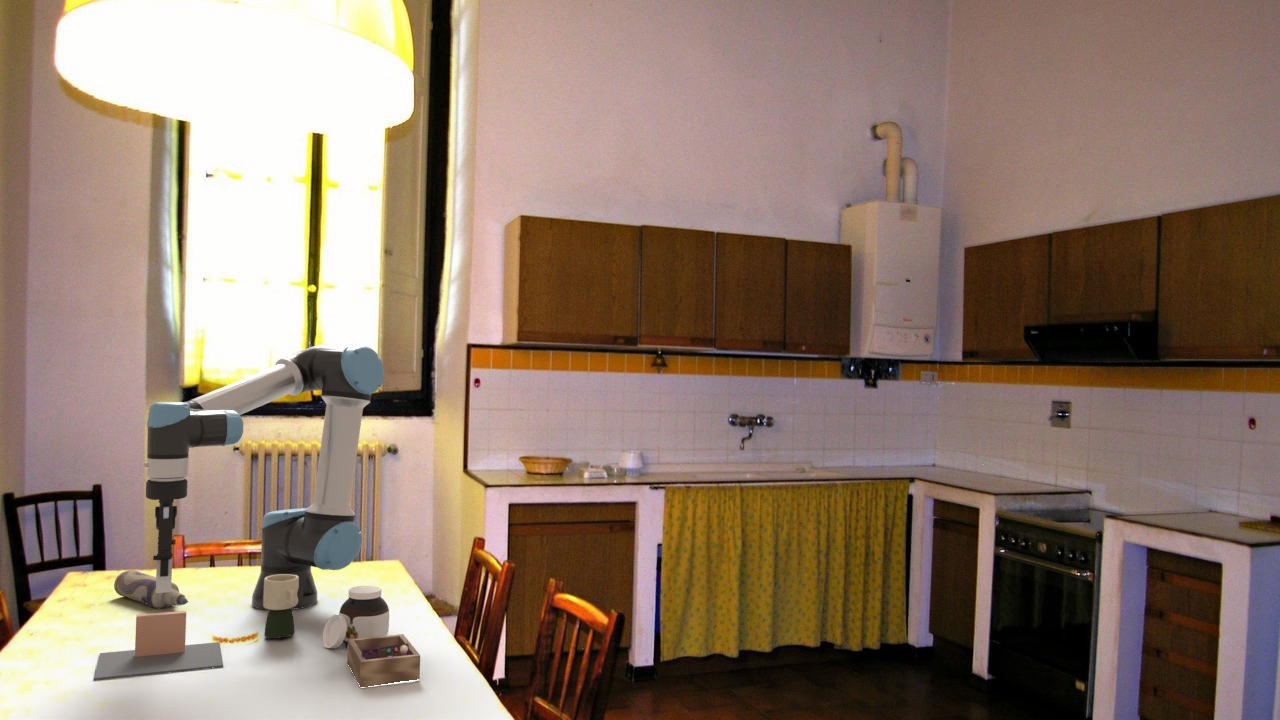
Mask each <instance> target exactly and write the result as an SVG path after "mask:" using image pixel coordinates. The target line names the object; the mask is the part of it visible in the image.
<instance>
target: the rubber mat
mask: <svg viewBox="0 0 1280 720" xmlns="http://www.w3.org/2000/svg"><path fill="white" fill-rule="evenodd" d="M98 655H99V656H98V658H97V665H96V668H95V673H94V677H93V681H101V680H111V679H118V678H119V679H123V678H132V677H142V676H149V675H150V676H151V675H160V673H161V674H169V672H171V673H179V671H181V672H186V671H187V672H188V670H190V671H196V670H195V669H200V670H205V669H204V668H210V669H213V668H212V667H219V668H224V661H223V655H222V649H221V642H220V641H217V642H206V643H195V644H194V643H193V644H185V652H181V653H170V654H160V655H149V656H139V657H135V649H129V650H121V651H120V650H119V651H107V652H100V653H99V654H98ZM202 668H203V669H202Z"/></svg>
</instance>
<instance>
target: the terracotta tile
mask: <svg viewBox="0 0 1280 720" xmlns="http://www.w3.org/2000/svg"><path fill="white" fill-rule="evenodd" d="M135 618H136V619H135V640H134V641H135V642H134V650H135V657H139V656H149V655H160V654H170V653H181V652H185V645H186V635H187V633H186V631H187V610H181V611H180V610H178V611H165V612H152V613H141V614H140V613H139V614H136V616H135Z"/></svg>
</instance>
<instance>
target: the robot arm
mask: <svg viewBox="0 0 1280 720" xmlns="http://www.w3.org/2000/svg"><path fill="white" fill-rule="evenodd" d="M384 377H385V368H384V364H383V361H382V359H381V358H380V357H379V354H378V353H377V351H375V350H374V349H372V347H369V346H366V345H359V344H329V343H327V344H325V343H324V344H318V345H314V346H310V347H308V348H305V349H302V350H300V351H297V352H295V353H292V354H290V355H287V356H285V357H282V358H280V359H278V360H277V361H276V362H275V363H274V365H273V366H271V367H269V368H266V369H263V370H261V371H259V372H257V373H254V374H251V375H249V376H247V377H244V378H242V379H240V380H237V381H234V382H232V383H230V384H227V385H225V386H222V387H219V388H218V389H217V388H216V389H215V390H212V391H210V392H207V393H205V394H203V395H200V396H197V397H195V398H192V399H190V400H188V401H184V402H183V401H179V402H178V401H158V402H157V401H156V402H153V403H151V405H150V406H149V408H148V409H149V410H148V414H147V415H148V416H147V420H146V421H147V423H146V425H147V448H146V449H147V451H146V454H147V455H146V458H147V459H146V460H147V461H145V462H143V464H142V466H143V468H146V477H147V478H149V479H147V481H145V497H146V499H148V500H153V501H158V503H159V505H158V506H155V508H154V518H156V519H155V529H156V530H157V531H158V534H157V535H158V537H157V540H158V541H157V553H156V555H153V556H152V557H153V559H152V561H156V570H155V571H156V573H155V574H156V575H155V577H156V593H164V592H171V582H172V576H173V575H172V574H173V573H172V572H173V555H174V554H173V546H174V545H176V541H177V540H176V539H173V530H174V529H175V528H176V518H177V516H178V506H177V505H173V503H174V500H180V499H184V498H186V497H187V496H188V480H187V479H186V477H187V476H189V459H190V458H189V452H190V448H193V449H194V448H199V447H200V448H201V447H220V446H221V447H225V446H229V445H235V444H237V443H238V442H239V441H240V440H241V438H242V437H243V434H244V421H243V418H242V416H241V415H243V414H245V413H249V412H250V411H253V410H254V409H257V408H259V407H263V406H264V405H266V404H269V403H271V402H273V401H275V400H277V399H281V398H283V397H285V396H286V395H289V396H298V395H300V394H302V393H304V392H310V391H321V394H320V397H321V398H322V400H323V401H324V403H325V405H326V406H325V413H324V420H323V426H322V428H323V429H322V436H321V441H320V443H321V444H320V448H319V449H320V451H319V456H318V465H317V470H316V471H317V472H316V478H315V485H314V493H313V499H312V503H311V505H309V506H308V507H303V508H302V507H301V508H290V509H282V510H280V509H279V510H273V511H269V512H267V513H265V514H264V516H263V517H262V526H261V529H260V530H261V547H260V548H261V550H260V551H261V552H260V553H261V555H260V557H261V558H260V573H259V577H258V579H257V582H256V584H255V588H254V590H253V593H252V597H251V606H252V605H253V606H252V607H254V608H257V609H259V610H266V611H269V610H270V609H266V608H264V606H263V597H264V579H265V577H267V576H271V575H278V574H292V575H297V576H298V577H299V588H298V591H297V597H298V603H297V605H296V606H294V607H292V608H291V610H297V609H296V608H299V609H302V607H304V608H307V607H306V606H308V607H310V606H309V605H311V606H313V605H315V604H316V603H317V602H318V591H317V587H316V584H315V580H314V577H313V573H312V567H313V568H318V569H319V570H324V571H325V570H326V571H327V570H328V571H329V570H331V571H340V570H343V569H345V568H346V567H348V566H350V565H351V563H352V562H353V561H354V560H355V559H356V558H357V557H358V555H359V553H360V550H361V549H362V544H363V533H362V531H361V529H360V526H359V525H357V524H356V523H355V520H356V513H355V511H354V510H353V509H352V508H351V500H352V493H353V485H354V477H355V472H356V470H355V469H356V462H357V455H358V447H359V442H360V440H359V439H360V432H361V425H362V418H363V417H362V416H363V411H364V408H365V407H366V406H367V405H369V404H370V403H371V401H372V400H371V399H372V398H371V397H372V395H373V394H374V393H376V392H377V391H378V390H379V389H380V387H381V386H382V385H383V383H384Z"/></svg>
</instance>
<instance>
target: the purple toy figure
mask: <svg viewBox="0 0 1280 720" xmlns="http://www.w3.org/2000/svg"><path fill="white" fill-rule="evenodd" d="M399 647H400V648H399ZM392 648H393V649H392ZM379 649H385V652H386V654H391V653H392V651H393V652H394V653H398V652H399V650H400V651H401V652H402V656H405V655H409V644H401V645H393V646H385V647H377V648H369V649H362V650H361V653H362V657H365V659H366V660H368V659H377V658H379ZM388 657H395V656H388Z"/></svg>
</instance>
